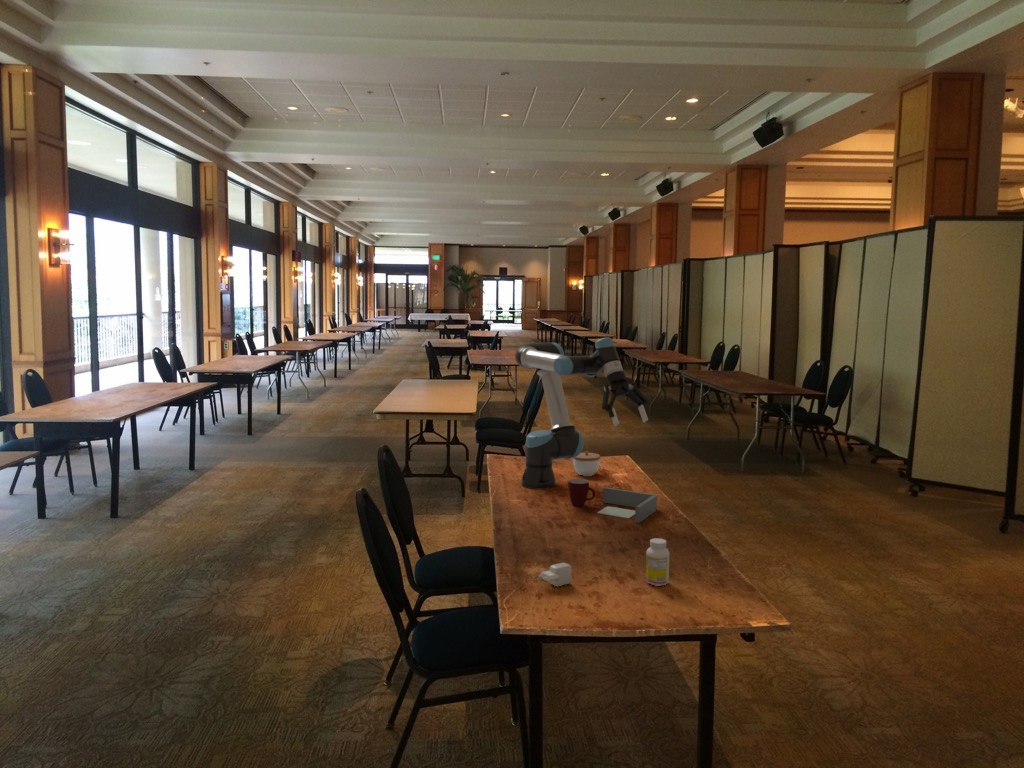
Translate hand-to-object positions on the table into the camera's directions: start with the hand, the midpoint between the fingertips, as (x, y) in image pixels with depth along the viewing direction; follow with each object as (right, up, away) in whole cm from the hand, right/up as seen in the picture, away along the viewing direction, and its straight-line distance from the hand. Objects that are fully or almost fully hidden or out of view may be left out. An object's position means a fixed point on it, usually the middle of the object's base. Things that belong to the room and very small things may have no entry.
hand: (631, 423), depth 295 cm
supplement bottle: (-4, -43, -73) cm, 85 cm away
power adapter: (-35, -44, -76) cm, 94 cm away
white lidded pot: (-12, -27, +57) cm, 65 cm away
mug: (-19, -33, +6) cm, 39 cm away
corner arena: (-4, -34, -2) cm, 35 cm away
